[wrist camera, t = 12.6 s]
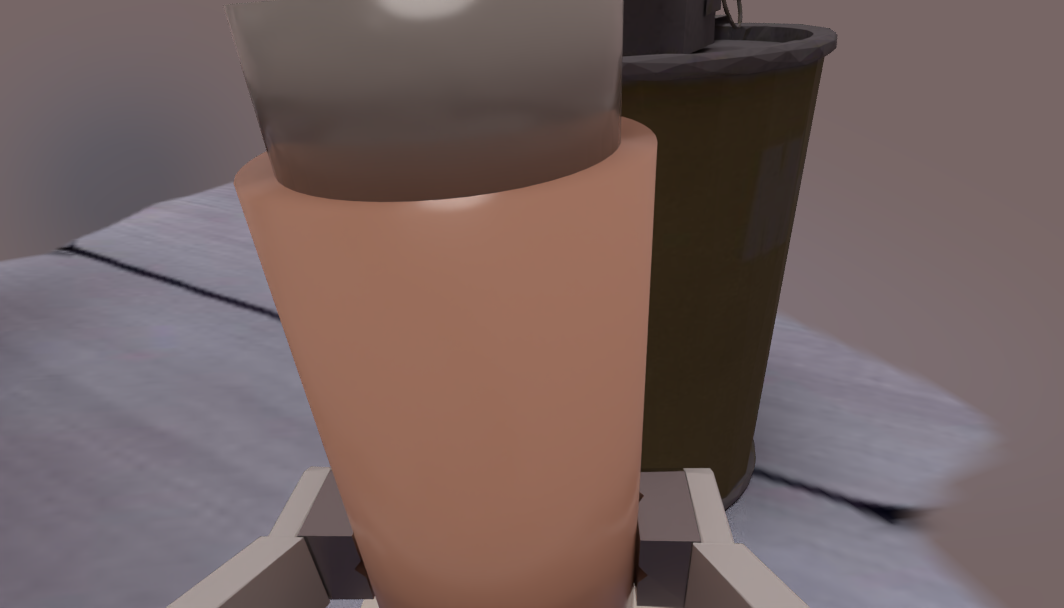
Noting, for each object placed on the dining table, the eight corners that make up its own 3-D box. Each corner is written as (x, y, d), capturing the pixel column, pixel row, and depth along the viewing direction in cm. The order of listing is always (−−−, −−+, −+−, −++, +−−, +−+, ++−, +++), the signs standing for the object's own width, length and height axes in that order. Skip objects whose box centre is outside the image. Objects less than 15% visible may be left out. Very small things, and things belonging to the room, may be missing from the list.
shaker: (416, 858, 12) (24, 17, 4) (456, 636, 16) (308, 2, 8) (634, 873, 12) (718, -34, 3) (618, 641, 16) (638, -22, 8)
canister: (721, 575, 20) (841, -100, 10) (487, 475, 25) (410, -46, 15) (775, 400, 28) (872, -73, 18) (590, 350, 33) (584, -44, 23)
